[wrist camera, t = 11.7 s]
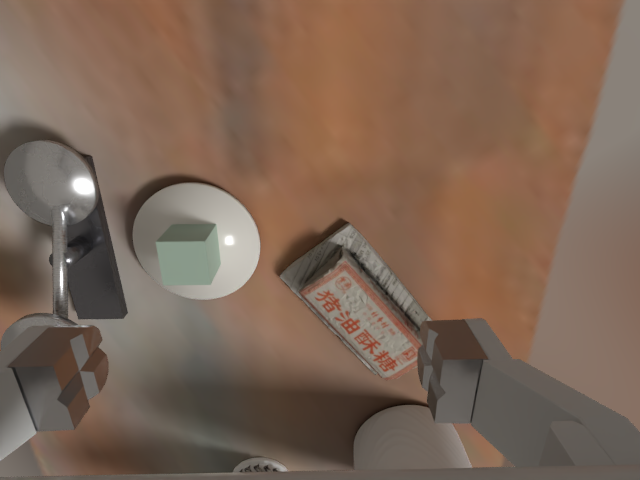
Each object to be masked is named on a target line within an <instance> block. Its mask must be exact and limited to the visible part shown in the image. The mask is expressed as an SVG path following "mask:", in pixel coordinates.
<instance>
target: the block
mask: <svg viewBox="0 0 640 480" xmlns="http://www.w3.org/2000/svg"><path fill="white" fill-rule="evenodd" d="M156 248H157V253H158V259H159V264H160V270H161V276H162V281H163V285H211V283H212V281H213V279H214V277H215V275H216V273H217V271H218V269H219V267H220V265H221V260H220V251H219V242H218V233H217V224H172V225H171V226H170V227H169V228H168V229H167V230H166V231H165V232H164V233H163V234H162V235H161V237H160V238H159V239H158V240H157V241H156Z"/></svg>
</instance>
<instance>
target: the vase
mask: <svg viewBox="0 0 640 480" xmlns="http://www.w3.org/2000/svg"><path fill="white" fill-rule="evenodd" d="M441 468H472V466H471V464H470V461H469V459H468V456H467V454H466V452H465V449H464V447H463V444H462V442H461V440H460V438H459V436H458V433H457V431H456V430H455V428H454V426H453V425H452V423H434V420H433V417H432V414H431V411H430V409H429V408H428V407H424V406H419V405H401V406H395V407H391V408H387V409H385V410H382V411H380V412H378V413H376V414H375V415H373V416H372V417H370V418H369V419H368V420H367V421H366V422H365V423H364V424H363V425H362V426H361V427H360V429H359V430H358V432H357V434H356V436H355V440H354V470H390V469H441Z"/></svg>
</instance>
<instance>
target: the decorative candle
mask: <svg viewBox="0 0 640 480" xmlns="http://www.w3.org/2000/svg"><path fill="white" fill-rule="evenodd" d="M278 471H288V470H287V468H286V467H285V466H284V465H283V464H281V463H280V462H278V461H276V460H273V459H269V458H265V457H258V458H250V459H247V460H244V461H242V462H241V463H239V464H238V465H237V466H236V467H235V468H234V470H233V472H278Z"/></svg>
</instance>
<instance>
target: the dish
mask: <svg viewBox="0 0 640 480" xmlns="http://www.w3.org/2000/svg"><path fill="white" fill-rule="evenodd" d="M172 224H217V233H218V242H219V251H220V260H221V265H220V267H219V269H218V271H217V273H216V275H215V277H214V279H213V281H212V283H211V285H163V281H162V276H161V270H160V264H159V259H158V253H157V248H156V241H157V240H158V239H159V238H160V237H161V235H162V234H163V233H164V232H165V231H166V230H167V229H168V228H169V227H170V226H171V225H172ZM133 245H134V249H135V253H136V255H137V258H138V260H139V262H140V264H141V265H142V267H143V269H144V270H145V271H146V272H147V274H148V275H149V276H150V277H151V278H152V279H153V280H154V281H155V282H157V283H158V284H159V285H160V286H162V287H163V288H165V289H166V290H168V291H170V292H172V293H175V294H177V295H180V296H183V297H187V298H192V299H203V300H205V299H215V298H220V297H223V296H226V295H228V294H231V293H233V292H234V291H236V290H238V289H239V288H240V287H242V286H243V285H244V284H245V283H246V282H247V281H248V280H249V279H250V277H251V276H252V274H253V273H254V270H255V268H256V266H257V263H258V260H259V256H260V249H261V242H260V235H259V231H258V228H257V225H256V223H255V221H254V219H253V217H252V215H251V214H250V212H249V211H248V210H247V208H246V207H245V206H244V205H243V204H242V203H241V202H240V201H239V200H238V199H237V198H235V197H234V196H233V195H231V194H230V193H228V192H226V191H225V190H222V189H220V188H218V187H216V186H212V185H209V184H204V183H199V182H185V183H178V184H173V185H171V186H168V187H165V188H163V189H162V190H160V191H158V192H157V193H155V194H154V195H153V196H151V197H150V198H149V199H148V200H147V201H146V202H145V203H144V204H143V206H142V207H141V208H140V210H139V212H138V214H137V216H136V218H135V222H134V226H133Z"/></svg>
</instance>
